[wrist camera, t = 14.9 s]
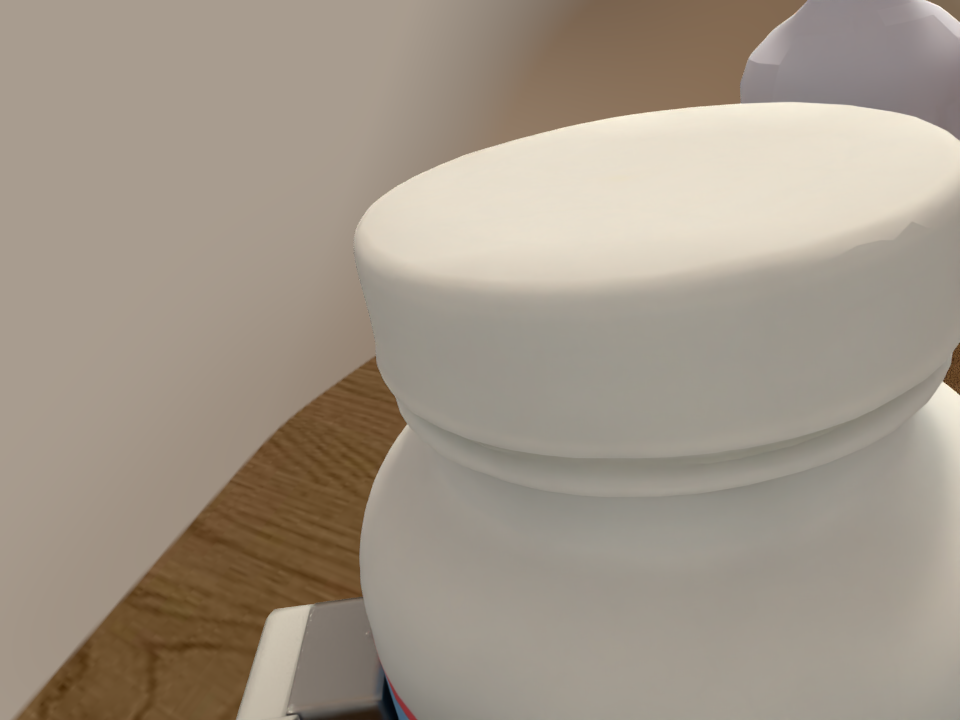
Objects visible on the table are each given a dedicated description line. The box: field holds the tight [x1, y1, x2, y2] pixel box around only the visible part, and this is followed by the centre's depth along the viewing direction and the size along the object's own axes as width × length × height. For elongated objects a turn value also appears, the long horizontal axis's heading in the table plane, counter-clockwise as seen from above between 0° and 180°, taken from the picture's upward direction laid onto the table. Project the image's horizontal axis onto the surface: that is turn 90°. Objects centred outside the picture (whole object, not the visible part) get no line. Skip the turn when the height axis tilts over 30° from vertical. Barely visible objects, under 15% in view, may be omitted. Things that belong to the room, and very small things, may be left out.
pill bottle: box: [354, 102, 960, 720], centre depth 9 cm, size 6×6×11 cm
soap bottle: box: [740, 0, 960, 141], centre depth 33 cm, size 9×9×25 cm
